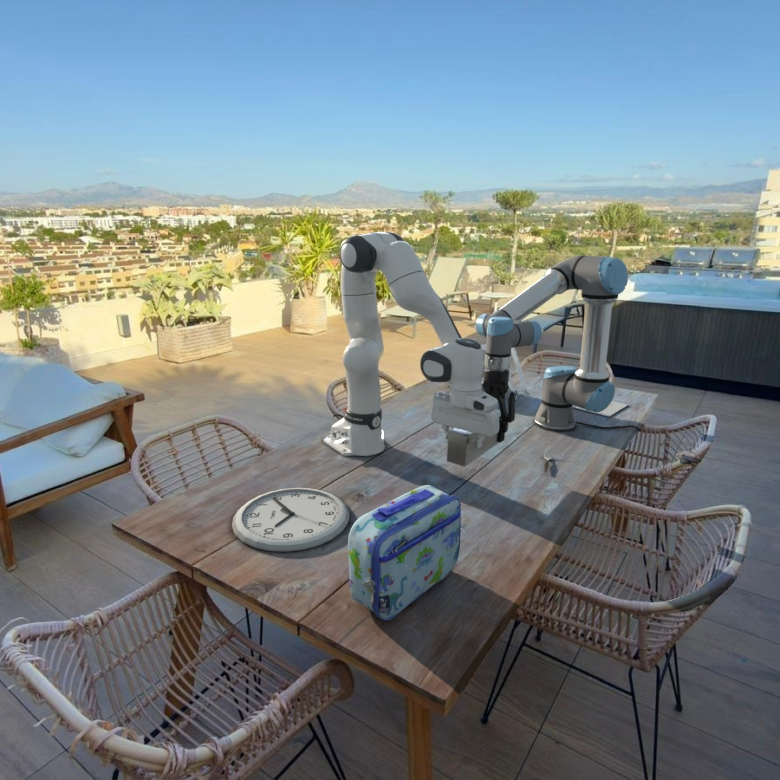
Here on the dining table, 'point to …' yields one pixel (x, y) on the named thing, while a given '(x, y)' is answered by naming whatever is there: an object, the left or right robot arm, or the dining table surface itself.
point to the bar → (468, 445)
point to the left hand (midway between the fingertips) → (463, 443)
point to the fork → (547, 459)
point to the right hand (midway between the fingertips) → (491, 438)
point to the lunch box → (403, 549)
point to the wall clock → (290, 519)
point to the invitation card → (608, 409)
